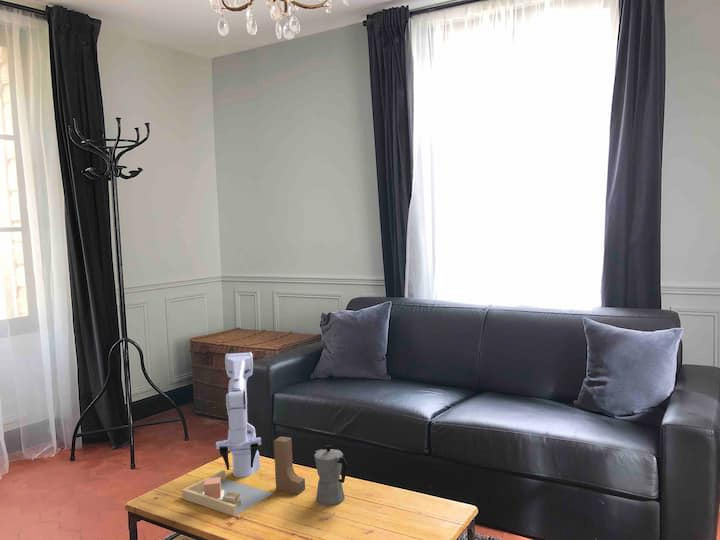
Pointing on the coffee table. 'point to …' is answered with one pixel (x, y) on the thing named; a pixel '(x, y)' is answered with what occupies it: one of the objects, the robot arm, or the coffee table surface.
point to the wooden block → (286, 468)
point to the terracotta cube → (212, 487)
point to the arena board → (247, 494)
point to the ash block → (233, 498)
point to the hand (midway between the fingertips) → (240, 467)
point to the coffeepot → (330, 476)
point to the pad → (221, 495)
